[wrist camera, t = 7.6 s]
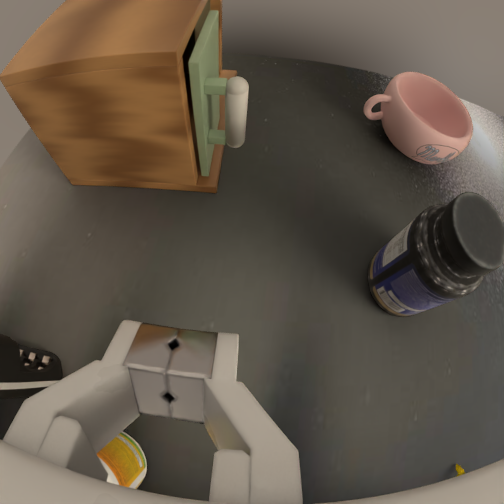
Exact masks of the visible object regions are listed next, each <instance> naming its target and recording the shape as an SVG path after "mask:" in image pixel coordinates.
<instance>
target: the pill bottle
mask: <svg viewBox="0 0 504 504" xmlns="http://www.w3.org/2000/svg"><path fill="white" fill-rule="evenodd" d="M503 263H504V222H503V220H502V218H501V216H500V215H499V213H498V211H497V210H496V209H495V207H494V206H493V205H492V204H491V203H490V202H489V201H488V200H487V199H485V198H484V197H483V196H481V195H479V194H477V193H474V192H465V193H462V194H460V195H459V196H457V197H456V198H455V199H454V200H452V201H451V202H450V203H449V204H448V205H446V204H437V205H434V206H431V207H429V208H427V209H425V210H424V211H423V212H422V213H420V215H419V216H417V217H416V218H415V219H414V220H413V221H412V222H411V223H410V224H409V225H408V226H406V227H405V228H404V229H403V230H402V231H401V232H400V233H398V234H397V235H396V236H395V237H394V238H393V239H392V240H390V241H389V242H388V243H387V244H386V245H385V246H384V247H382V248H381V249H380V250H379V251H378V252H377V253H376V254H375V255H374V257H373V258H372V260H371V262H370V264H369V269H368V282H369V287H370V291H371V294H372V296H373V298H374V299H375V301H376V302H377V303H378V305H379V306H380V307H381V308H382V309H383V310H385V311H386V312H387V313H389V314H391V315H395V316H399V317H406V316H412V315H414V314H417V313H420V312H423V311H425V310H428V309H431V308H434V307H436V306H439V305H442V304H444V303H447V302H450V301H452V300H455V299H458V298H460V297H463V296H465V295H468V294H469V293H471V292H473V291H474V290H475V289H476V288H477V287H478V286H479V284H480V283H481V281H482V279H483V277H484V275H486V274H488V273H490V272H491V271H493V270H495V269H497V268H498V267H500V266H501V265H502V264H503Z"/></svg>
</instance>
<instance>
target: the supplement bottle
mask: <svg viewBox="0 0 504 504" xmlns="http://www.w3.org/2000/svg"><path fill="white" fill-rule="evenodd" d="M97 456H98V458H99V459H100V461H101V463H102V464H103V466H104V468H105V469H106V471H107V472H108V478H107V482H110V483H113V484H117V485H121V486H125V487H129V488H133V489H137V488H138V487H139V485H140V484H141V482H142V481H143V479H144V477H145V475H146V471H147V463H146V458H145V455H144V453H143V451H142V449H141V447H140V446H139V444H138V443H137V442H136V441H135V440H134V439H133V438H132V437H131V436H129V435H128V434H126V433H125V432H123V431H122V432H121V433H119V434H118V435H117V436H116V437H115V438H114V439H113V440H112V441H110V442H109V443H108V444H107V445H106V446H105V447H104V448H102V449H101V450H100V451H99V452H98V453H97Z"/></svg>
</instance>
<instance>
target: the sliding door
mask: <svg viewBox="0 0 504 504" xmlns="http://www.w3.org/2000/svg"><path fill="white" fill-rule="evenodd" d="M188 67H189V76H190V86H191V95H192V104H193V113H194V121H195V129H196V138H197V146H198V153H199V161H200V169H201V176H209V172H210V166H211V161H212V155H213V150H214V145H215V144H220V145H226V143H227V145H228V146H230V147H232V148H238V147H240V146H242V145H243V143H244V141H245V129H246V116H247V103H248V90H249V85H248V83H247V81H246V80H245V79H244V78H242V77H232V78H230V79H229V80H228V79H227V78H219V11H217V10H210V11H209V13H208V16H207V18H206V20H205V23H204V25H203V27H202V30H201V32H200V34H199V37H198V39H197V42H196V44H195V46H194V49H193V51H192V54H191V57H190V59H189V62H188ZM219 95H225V130H217V129H218V124H219V119H220V108H219Z"/></svg>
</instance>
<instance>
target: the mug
mask: <svg viewBox="0 0 504 504" xmlns="http://www.w3.org/2000/svg"><path fill="white" fill-rule="evenodd" d="M379 102H381V111H380V112H376V113H372V111H371V109H372V107H373V106H374V105H375V104H377V103H379ZM364 114H365V115H366V116H367V117H368V118H369V119H371V120H380V119H381V121H382V125H383V128H384V131H385V133H386V135H387V136H388V138H389V140H390V141H391V142H392V144H393V145H394V146H395V147H396V148H397V149H398V150H399V151H400V152H402V153H403V154H404V155H406V156H407V157H409V158H411V159H412V160H415V161H417V162H420V163H424V164H439V163H443V162H446V161H449V160H452V159H453V158H455V157H457V156H458V155H459V154H460V153H461V152H462V151H463V150H464V149H465V148H466V147H467V145H468V144H469V142H470V140H471V138H472V135H473V124H472V120H471V117H470V115H469V112H468V111H467V109H466V107H465V106H464V104H463V103H462V102H461V100H460V99H459V98H458V97H457V96H456V95H455V94H454V93H453V92H452V91H451V90H450V89H449V88H448V87H446V86H445V85H443V84H442V83H441V82H439V81H437V80H435V79H434V78H432V77H429V76H427V75H425V74H421V73H416V72H403V73H400V74H398V75H396V76H395V77H394V78H393V79H392V80H391V81H390V82H389V84H388V86H387V88H386V90H385V92H384V94H378V95H374V96H372V97H371V98H369V99H368V100H367V102H366V103H365V105H364Z"/></svg>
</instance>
